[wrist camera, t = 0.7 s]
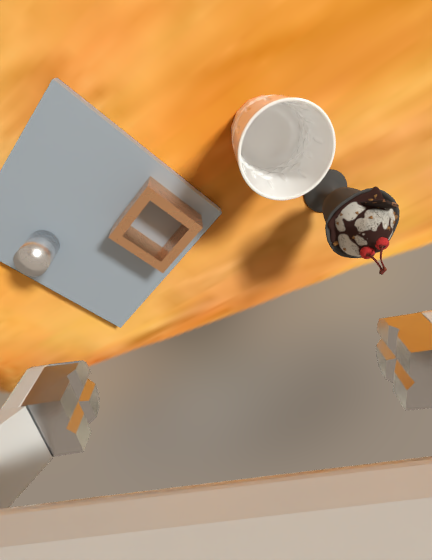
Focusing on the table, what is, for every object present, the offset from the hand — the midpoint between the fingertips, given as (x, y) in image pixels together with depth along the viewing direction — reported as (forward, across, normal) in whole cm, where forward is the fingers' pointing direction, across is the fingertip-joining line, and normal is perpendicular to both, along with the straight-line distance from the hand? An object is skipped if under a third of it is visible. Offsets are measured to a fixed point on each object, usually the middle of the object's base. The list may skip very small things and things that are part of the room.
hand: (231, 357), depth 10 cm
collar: (+31, +7, +4) cm, 32 cm away
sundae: (+34, -12, +5) cm, 36 cm away
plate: (+32, +14, +4) cm, 35 cm away
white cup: (+32, -6, -3) cm, 33 cm away
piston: (+30, +20, +5) cm, 36 cm away
